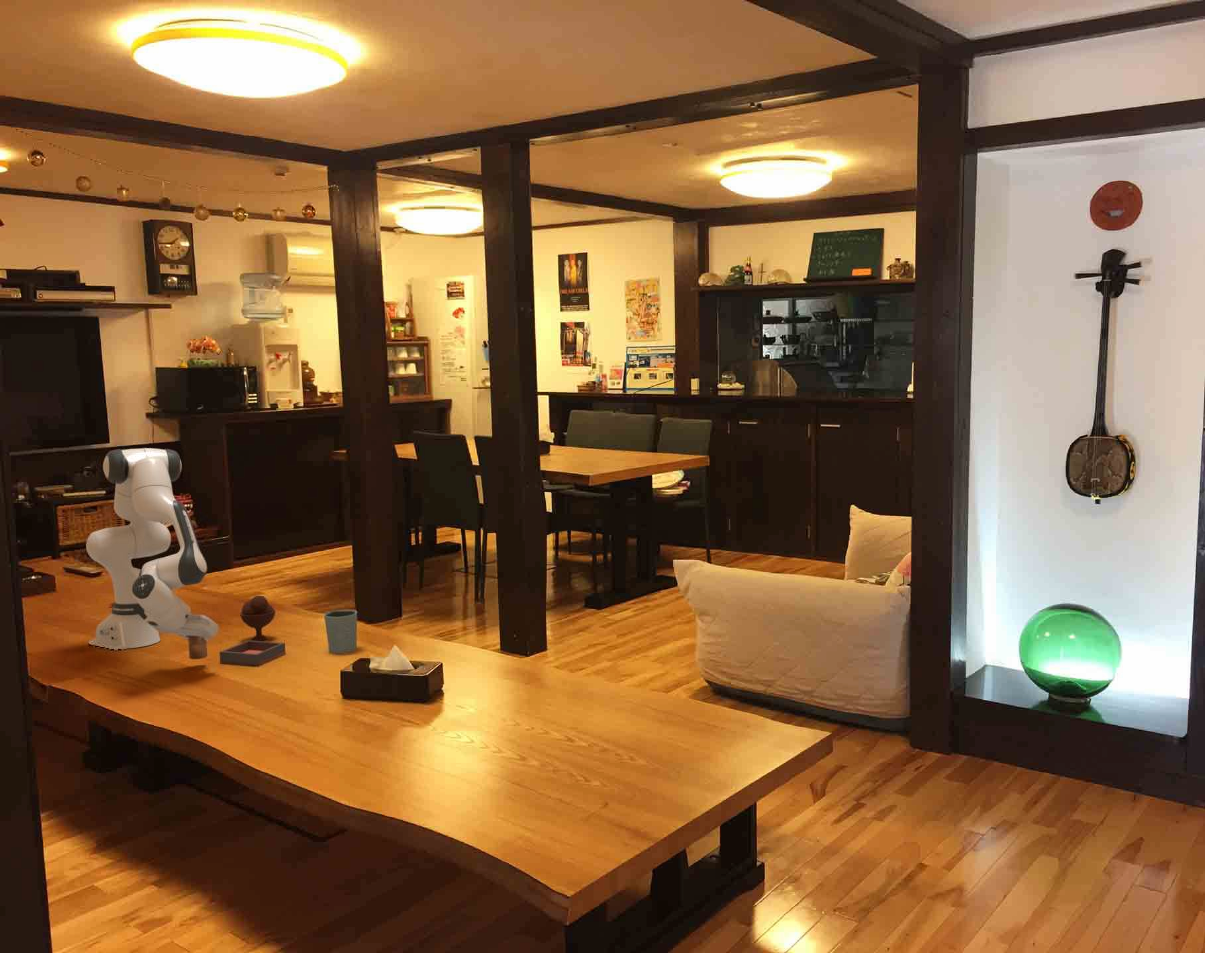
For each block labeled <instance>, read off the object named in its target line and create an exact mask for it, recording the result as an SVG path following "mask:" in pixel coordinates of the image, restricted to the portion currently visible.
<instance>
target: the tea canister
mask: <svg viewBox="0 0 1205 953" xmlns="http://www.w3.org/2000/svg"><path fill="white" fill-rule="evenodd" d="M201 638H202V637H200V636H190V635H188V657H189V659H191V660H201V659H205V658H207V657H208V647H207V646H208V645H207V641H203V640H202V639H201Z"/></svg>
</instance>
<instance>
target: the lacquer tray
mask: <svg viewBox="0 0 1205 953" xmlns="http://www.w3.org/2000/svg"><path fill="white" fill-rule="evenodd" d="M284 654H285V655H286V643H285V642H276V641H275V642H273V641H251V639H250V640H249V639H248V640H245V641H243V642H241V643H238V644H236V645H234V646H231V647H228V648H226V649H224V650H221V651H219V663H220V664H224V663H227V664H226V665H235V664H236V665H237V666H247V665H254V666H253V667H260V666H262V665H265V664H267V663H269V662H271V661H273V660H275V659H277V657H278V658H280V657H282V656H284ZM268 661H269V662H268ZM264 663H265V664H264ZM259 665H260V666H259Z"/></svg>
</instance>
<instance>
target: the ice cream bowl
mask: <svg viewBox="0 0 1205 953" xmlns="http://www.w3.org/2000/svg"><path fill="white" fill-rule="evenodd" d="M239 614H240V618H241V619H242V622H243V623H244V624H245V625H247V626H248V627H250V628H251V629H252V628H253V629H255V633H256V634H255V635H254V636H253V637H252V638H250V640H251V641H264V642H268V640H269V638H268V637H267V636H266V635H263V632H262V630H263V628H264V627H267V625H269V624H271V622H272V621H273V620H274V618H275V616H276V610H275V609H274V607H273V606H272V605H271V604H270V603H269V602H268V599H267V598H266V597H265V596H263V595H255V596H254V597H252V598H251V599H249V600H248V601H246V602H245V603H244V604H243V606H242V607H241V612H240V613H239Z"/></svg>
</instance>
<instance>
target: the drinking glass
mask: <svg viewBox="0 0 1205 953" xmlns="http://www.w3.org/2000/svg"><path fill="white" fill-rule="evenodd" d="M323 616H324V617H323V618H324V623H325V624H324V625H325V631H326V632H325V633H326V637H327V646H328V647H327V648H328V653H330V654H332V653H333V654H332V655H345V654H344V653H347V654H351V653H354V652H355V651H356V652H357V648H358V643H357V642H358V640H357V639H358V635H357V632H358V611H357V610H354V609H338V610H331V611H328V612H325V613H324V615H323Z"/></svg>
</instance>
